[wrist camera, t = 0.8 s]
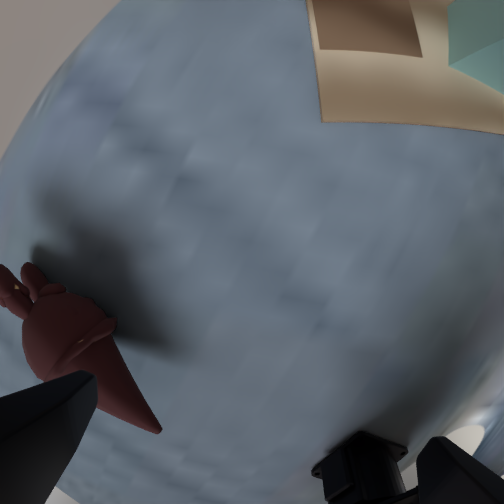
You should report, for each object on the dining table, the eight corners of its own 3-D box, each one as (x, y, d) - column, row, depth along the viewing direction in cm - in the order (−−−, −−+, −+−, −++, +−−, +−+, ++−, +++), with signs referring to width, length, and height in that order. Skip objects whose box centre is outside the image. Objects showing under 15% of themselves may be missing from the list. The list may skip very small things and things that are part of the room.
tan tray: (551, 144, 15) (572, 145, 13) (321, 122, 16) (329, 115, 14) (511, -17, 11) (526, -27, 9) (291, -69, 13) (292, -90, 10)
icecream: (193, 430, 14) (6, 220, 14) (114, 486, 14) (-44, 306, 13) (203, 379, 21) (62, 227, 21) (139, 433, 21) (13, 294, 20)
